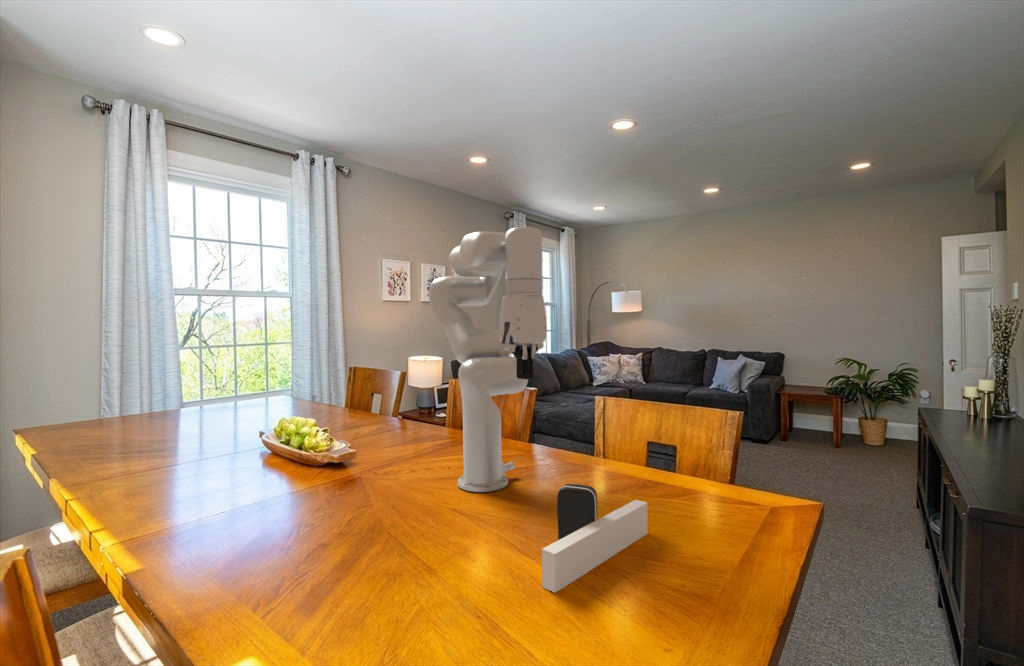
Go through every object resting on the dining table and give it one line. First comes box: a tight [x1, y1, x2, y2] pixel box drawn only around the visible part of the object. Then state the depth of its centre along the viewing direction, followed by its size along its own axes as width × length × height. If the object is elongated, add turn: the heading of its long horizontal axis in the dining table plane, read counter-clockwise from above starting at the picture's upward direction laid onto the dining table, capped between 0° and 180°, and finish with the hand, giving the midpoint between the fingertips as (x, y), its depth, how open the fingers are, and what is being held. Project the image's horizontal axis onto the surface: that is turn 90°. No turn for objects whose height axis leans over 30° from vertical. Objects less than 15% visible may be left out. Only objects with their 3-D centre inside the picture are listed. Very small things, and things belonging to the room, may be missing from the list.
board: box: [541, 499, 649, 594], centre depth 86 cm, size 28×2×6 cm, turn 136°
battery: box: [556, 483, 598, 541], centre depth 90 cm, size 7×4×11 cm, turn 68°
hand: (524, 378), depth 103 cm, fingers closed
